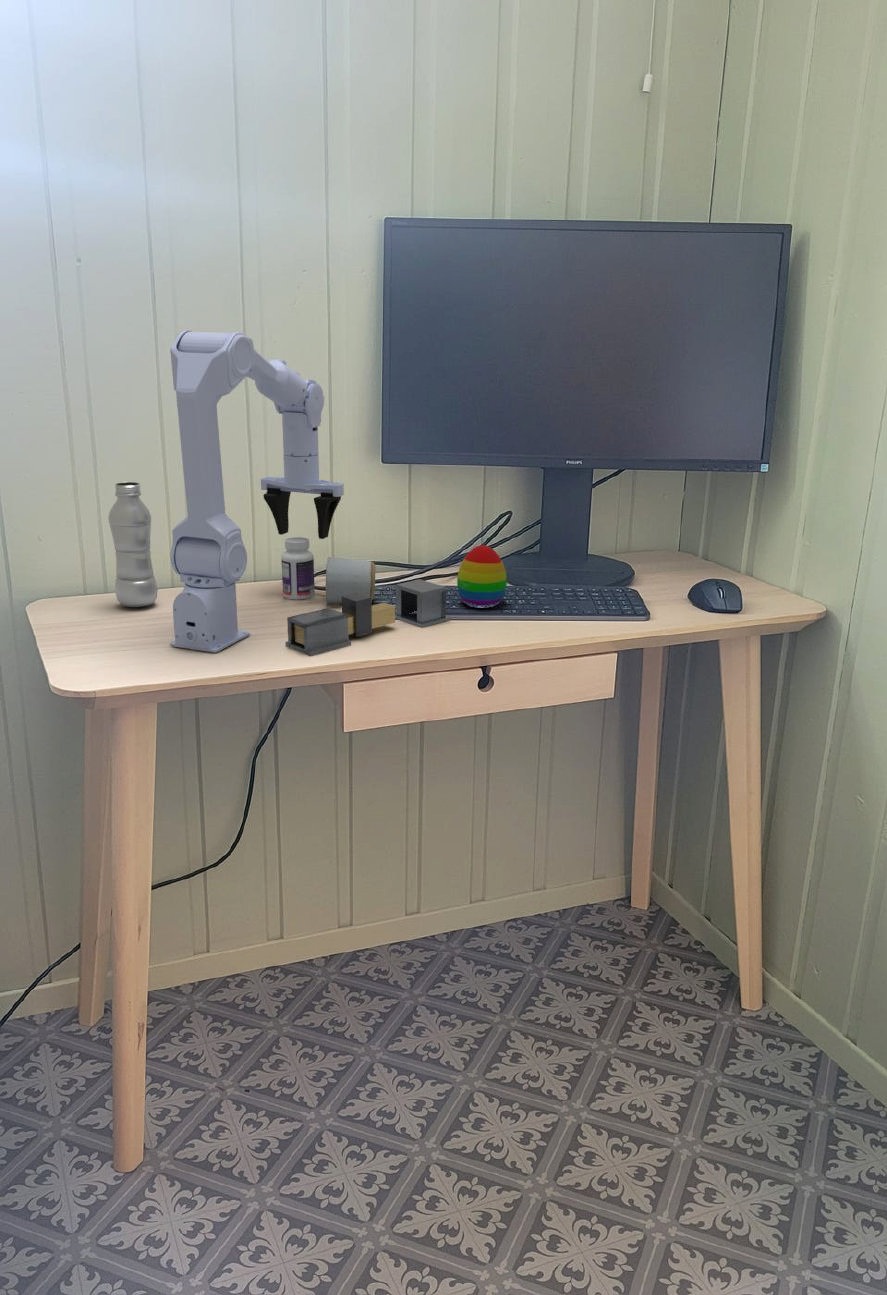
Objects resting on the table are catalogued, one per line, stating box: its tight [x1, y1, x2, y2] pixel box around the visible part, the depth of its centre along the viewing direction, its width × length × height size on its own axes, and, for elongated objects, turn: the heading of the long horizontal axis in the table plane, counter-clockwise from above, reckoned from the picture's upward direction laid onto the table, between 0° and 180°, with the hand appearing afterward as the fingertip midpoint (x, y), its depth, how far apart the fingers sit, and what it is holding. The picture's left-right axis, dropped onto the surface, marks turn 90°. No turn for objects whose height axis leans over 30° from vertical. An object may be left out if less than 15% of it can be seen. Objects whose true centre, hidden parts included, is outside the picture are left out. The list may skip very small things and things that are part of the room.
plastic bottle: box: [108, 481, 159, 608], centre depth 174 cm, size 6×7×20 cm
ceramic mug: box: [325, 556, 376, 605], centre depth 181 cm, size 11×8×8 cm
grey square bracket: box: [395, 579, 451, 628], centre depth 172 cm, size 6×7×5 cm
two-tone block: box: [294, 593, 396, 645], centre depth 162 cm, size 17×3×6 cm, turn 133°
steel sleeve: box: [284, 607, 352, 657], centre depth 159 cm, size 8×6×4 cm
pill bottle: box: [281, 536, 316, 601], centre depth 183 cm, size 5×5×10 cm
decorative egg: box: [456, 544, 508, 605], centre depth 180 cm, size 8×8×10 cm
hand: (303, 535), depth 183 cm, fingers open, 7 cm apart
